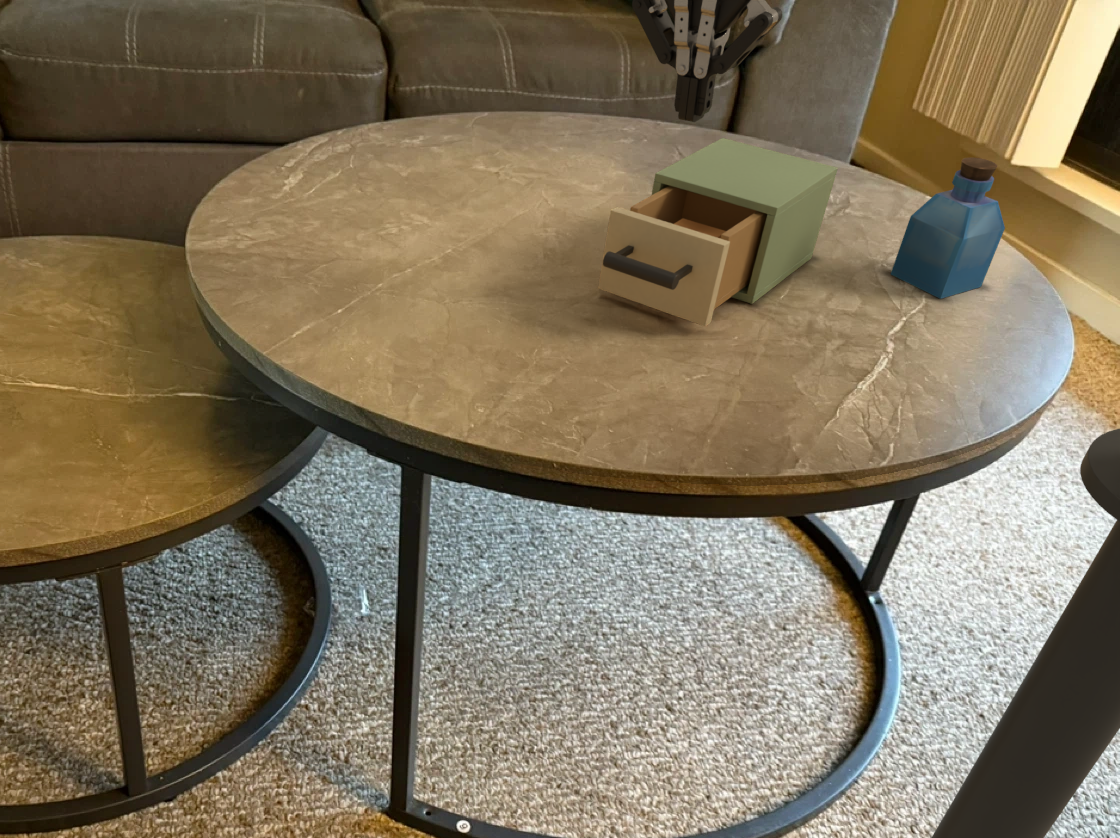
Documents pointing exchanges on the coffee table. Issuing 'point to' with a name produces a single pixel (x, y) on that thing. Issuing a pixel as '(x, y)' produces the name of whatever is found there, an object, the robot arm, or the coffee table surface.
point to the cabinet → (761, 201)
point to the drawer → (680, 253)
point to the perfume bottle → (953, 235)
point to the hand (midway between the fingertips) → (691, 118)
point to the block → (700, 227)
